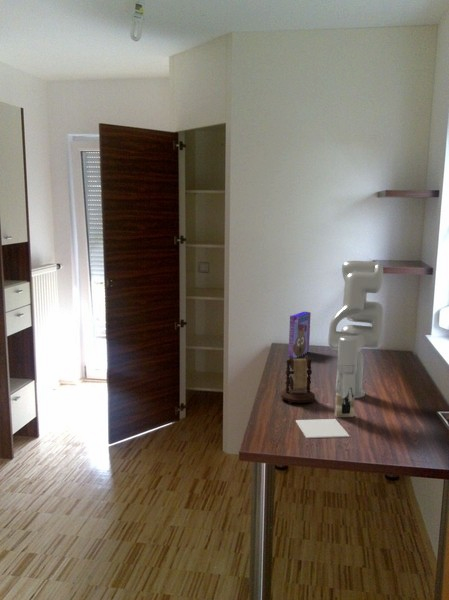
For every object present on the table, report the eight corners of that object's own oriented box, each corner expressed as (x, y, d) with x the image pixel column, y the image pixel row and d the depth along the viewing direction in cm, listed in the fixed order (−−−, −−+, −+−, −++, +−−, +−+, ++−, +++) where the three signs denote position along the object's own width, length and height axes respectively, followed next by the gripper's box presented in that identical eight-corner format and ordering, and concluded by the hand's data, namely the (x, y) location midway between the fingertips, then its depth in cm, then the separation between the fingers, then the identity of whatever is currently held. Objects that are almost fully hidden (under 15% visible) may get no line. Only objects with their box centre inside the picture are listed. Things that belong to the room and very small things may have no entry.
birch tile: (334, 414, 212) (335, 393, 211) (351, 414, 213) (352, 393, 212) (336, 417, 210) (337, 395, 208) (353, 416, 211) (354, 395, 209)
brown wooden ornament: (285, 406, 221) (287, 360, 218) (276, 394, 235) (278, 351, 232) (319, 405, 223) (321, 359, 220) (308, 393, 238) (310, 350, 235)
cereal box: (296, 358, 297) (297, 316, 293) (288, 357, 299) (290, 315, 296) (308, 352, 311) (310, 312, 307) (301, 350, 314) (303, 311, 310)
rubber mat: (295, 421, 205) (295, 420, 205) (335, 420, 207) (335, 418, 207) (306, 438, 189) (306, 437, 189) (349, 437, 191) (349, 435, 191)
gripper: (331, 362, 216) (329, 405, 219) (344, 373, 200) (342, 420, 203) (349, 361, 217) (346, 404, 220) (363, 373, 201) (360, 419, 204)
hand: (344, 411), depth 211 cm, fingers closed on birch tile, 2 cm apart
